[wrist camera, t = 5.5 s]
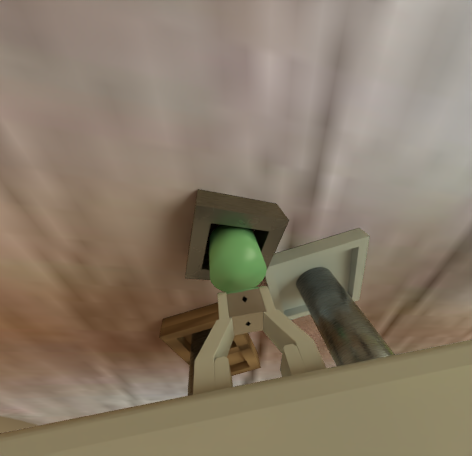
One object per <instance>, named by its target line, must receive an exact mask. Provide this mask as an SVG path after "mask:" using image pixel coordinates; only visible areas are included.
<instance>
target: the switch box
mask: <svg viewBox="0 0 472 456" xmlns="http://www.w3.org/2000/svg"><path fill="white" fill-rule="evenodd" d="M288 222H289V220H288V218H287V217H286V216H285V214H284V213H283V212H282V210H281V209H280V208H279V206H278V205H277V204H276V203H270V202H265V201H259V200H254V199H248V198H243V197H237V196H232V195H226V194H221V193H216V192H210V191H205V190H199V189H198V191H197V198H196V205H195V212H194V218H193V225H192V232H191V239H190V245H189V252H188V259H187V267H186V276H185V278H188V279H203V280H210V266H209V248H206V244H207V239H208V234H209V229H210V225H211V223H214V224H221V225H228V226H235V227H242V228H249V229H254V232H253V233H254V235H255V238H256V241H257V243H258V246H259V248H260V251H261V253H262V256H263V259H264V261H265V264H266V268H267V269H268V266H269V264H270V262H271V260H272V257H273V255H274V253H275V251H276V249H277V246H278V244H279V242H280V240H281V237H282V235H283V233H284V231H285V229H286V226H287V224H288ZM261 282H262V281H261Z"/></svg>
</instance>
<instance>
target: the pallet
mask: <svg viewBox="0 0 472 456" xmlns="http://www.w3.org/2000/svg"><path fill="white" fill-rule="evenodd" d="M216 320H219V311H218V303H215V304H212V305H209V306H205V307H202V308H199V309H195V310H192V311H189V312H185V313H182V314H179V315H175V316H172V317H169V318H165V319H163V321H162V326H161V331H160V336H159V337H160V338H161V339H162V340H163V341H164V342H165V343H166V344H167V345H168V346H169V347H170V348H171V349H172V350H174V351H175V352H176V353H177V354H178V355H179V356H180V357H181V358H182V359H183V360H184V361H185V362H186V363H188V364H189V365H190V351H191V336H192V334H193V333H197V332H200V331H203V330H207V329H210V328H212V327H213V326H214V324H215V322H216ZM227 358H228V360H229V365H230V371H231V376H233V375H236V374H240V373H243V372H247V371H251V370H254V369H258V368H261V367H260V362H259V357H258V353H257V351H256V349H255V346H254V344H253V342H252V340H251V338H250V336H249V334H248V333H244V334H239V335H234V339H233V342H232V344H231V347H230V350H229V353H228V355H227Z"/></svg>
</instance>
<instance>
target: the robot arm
mask: <svg viewBox="0 0 472 456" xmlns="http://www.w3.org/2000/svg"><path fill="white" fill-rule="evenodd" d="M218 311H219V320H216V322H215V324H214V326H213V327H212V329H211V331H210V333H209V335H208V337H207V339H206V341H205V342H204V344H203V346H202V348H201V350H200V352H199V354H198V355H197V357H196V359H195V363H194V383H193V395H190V396H185V397H180V398H175V399H170V400H165V401H160V402H155V403H150V404H145V405H140V406H135V407H130V408H125V409H120V410H114V411H109V412H104V413H99V414H94V415H89V416H84V417H79V418H74V419H69V420H64V421H59V422H54V423H49V424H44V425H39V426H34V427H29V428H24V429H19V430H14V431H9V432H4V433H0V456H472V340H467V341H462V342H457V343H452V344H447V345H442V346H437V347H431V348H426V349H421V350H416V351H411V352H406V353H401V354H396V355H391V356H386V357H381V358H376V359H371V360H366V361H361V362H356V363H351V364H346V365H341V366H336V367H331V368H326V366H325V364H324V361H323V359H322V357H321V355H320V353H319V351H318V349H317V346H316V344H315V342H314V340H313V339H312V338H311V337H310V336H309V335H307V334H306V333H305V332H304V331H303V330H302V329H300V328H299V327H298V326H297V325H296V324H295V323H293V322H292V321H291V320H290V319H289V318H288V317H286V316H285V315H284V314H283V313H282V312H281V311H279V310H276V309H275V306H274V303H273V300H272V298H271V295H270V292H269V289H268V287H267V286H261V287H254V288H248V289H242V290H237V291H230V292H223V293H218ZM256 331H263V332H264V333H265V334H266V335H267V336H268V337H269V339H270V340H271V341H272V342H273V343H274V344H275V346H276V347H277V348H278V349H279V350H280V351H281V353H282V360H281V366H280V371H281V374H282V377H280V378H275V379H270V380H265V381H260V382H255V383H250V384H245V385H240V386H235V387H233V383H232V376H231V371H230V365H229V360H228V358H227V355H228V353H229V350H230V347H231V344H232V342H233V339H234V335H239V334H244V333H249V332H256Z"/></svg>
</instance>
